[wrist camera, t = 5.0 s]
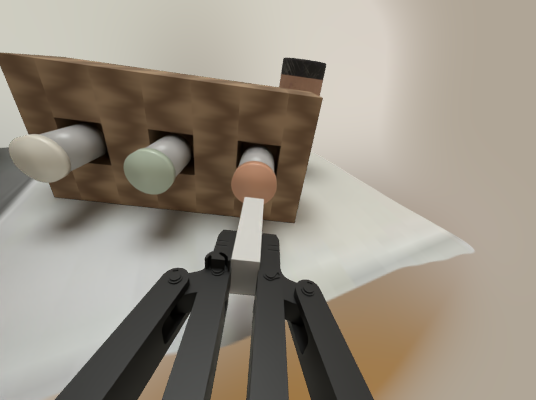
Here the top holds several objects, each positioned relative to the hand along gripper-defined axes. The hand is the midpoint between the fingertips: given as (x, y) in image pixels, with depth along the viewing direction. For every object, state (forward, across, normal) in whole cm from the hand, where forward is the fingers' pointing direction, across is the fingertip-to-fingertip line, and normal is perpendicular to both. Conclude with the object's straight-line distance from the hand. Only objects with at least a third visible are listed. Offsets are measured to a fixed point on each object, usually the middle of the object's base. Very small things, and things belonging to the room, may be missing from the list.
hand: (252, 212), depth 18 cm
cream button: (+8, -20, -2) cm, 22 cm away
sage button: (+8, -10, -2) cm, 13 cm away
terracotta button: (+8, 0, -2) cm, 8 cm away
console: (+14, -10, -8) cm, 19 cm away
